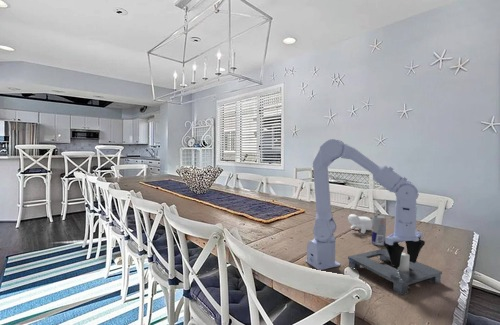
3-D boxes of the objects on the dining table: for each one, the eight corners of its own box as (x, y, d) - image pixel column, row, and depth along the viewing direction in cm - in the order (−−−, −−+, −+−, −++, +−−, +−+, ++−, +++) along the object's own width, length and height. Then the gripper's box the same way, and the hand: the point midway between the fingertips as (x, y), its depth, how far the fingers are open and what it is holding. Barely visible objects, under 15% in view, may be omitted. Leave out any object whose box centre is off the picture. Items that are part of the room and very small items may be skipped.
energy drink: (373, 240, 115) (373, 214, 114) (386, 243, 112) (387, 216, 111) (369, 244, 111) (370, 216, 110) (383, 247, 107) (384, 218, 107)
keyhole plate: (401, 296, 72) (402, 284, 71) (347, 266, 90) (348, 256, 90) (441, 282, 79) (442, 271, 79) (384, 257, 97) (384, 248, 97)
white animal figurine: (362, 232, 135) (340, 225, 130) (367, 217, 136) (346, 209, 131) (375, 238, 127) (353, 230, 122) (380, 221, 128) (358, 213, 123)
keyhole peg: (405, 285, 77) (406, 259, 77) (390, 277, 82) (391, 252, 82) (416, 281, 79) (417, 256, 79) (401, 274, 84) (401, 250, 84)
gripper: (401, 227, 73) (399, 273, 74) (433, 221, 79) (431, 264, 80) (379, 220, 80) (378, 263, 80) (411, 216, 85) (409, 256, 86)
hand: (403, 263), depth 80 cm, fingers open, 7 cm apart
